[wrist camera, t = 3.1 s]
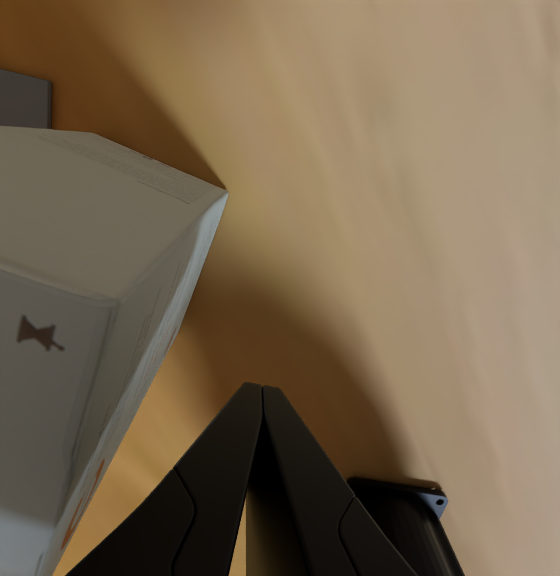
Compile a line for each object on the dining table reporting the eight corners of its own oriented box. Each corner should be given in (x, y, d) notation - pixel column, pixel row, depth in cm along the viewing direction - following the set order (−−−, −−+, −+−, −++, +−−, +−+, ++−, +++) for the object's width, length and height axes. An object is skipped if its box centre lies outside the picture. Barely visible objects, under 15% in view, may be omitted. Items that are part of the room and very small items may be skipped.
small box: (91, 129, 16) (-518, 65, 4) (232, 190, 17) (131, 300, 5) (52, 294, 18) (-380, 583, 6) (176, 337, 19) (18, 661, 7)
